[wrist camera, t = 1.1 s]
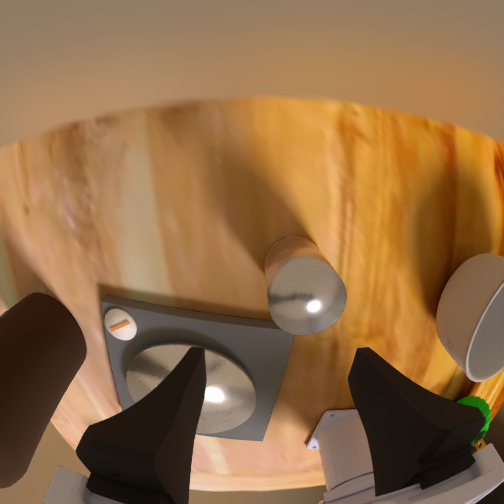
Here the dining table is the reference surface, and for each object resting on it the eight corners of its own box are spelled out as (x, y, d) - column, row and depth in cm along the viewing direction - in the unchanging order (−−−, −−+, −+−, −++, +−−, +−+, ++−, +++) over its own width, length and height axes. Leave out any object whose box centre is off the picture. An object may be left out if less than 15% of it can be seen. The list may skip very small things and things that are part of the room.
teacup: (404, 329, 23) (445, 383, 15) (453, 224, 20) (515, 252, 12) (476, 343, 24) (511, 380, 17) (515, 264, 21) (559, 291, 13)
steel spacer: (327, 240, 20) (355, 270, 14) (315, 293, 22) (334, 337, 16) (269, 231, 20) (276, 260, 14) (259, 287, 21) (262, 331, 16)
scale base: (293, 322, 22) (296, 334, 21) (262, 433, 27) (262, 444, 26) (106, 295, 21) (98, 303, 20) (127, 411, 26) (123, 421, 25)
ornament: (449, 422, 30) (472, 464, 20) (423, 422, 28) (448, 471, 19) (481, 386, 27) (511, 426, 18) (460, 382, 26) (494, 429, 17)
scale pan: (266, 352, 21) (266, 357, 21) (247, 434, 25) (246, 439, 24) (121, 329, 21) (118, 333, 20) (136, 415, 24) (135, 420, 24)
